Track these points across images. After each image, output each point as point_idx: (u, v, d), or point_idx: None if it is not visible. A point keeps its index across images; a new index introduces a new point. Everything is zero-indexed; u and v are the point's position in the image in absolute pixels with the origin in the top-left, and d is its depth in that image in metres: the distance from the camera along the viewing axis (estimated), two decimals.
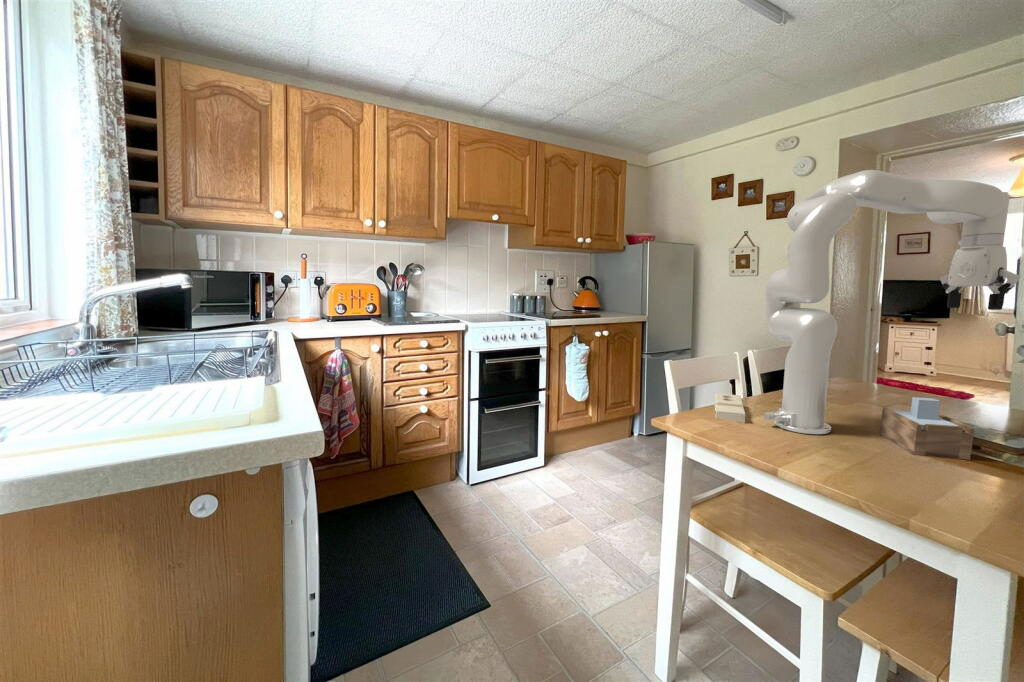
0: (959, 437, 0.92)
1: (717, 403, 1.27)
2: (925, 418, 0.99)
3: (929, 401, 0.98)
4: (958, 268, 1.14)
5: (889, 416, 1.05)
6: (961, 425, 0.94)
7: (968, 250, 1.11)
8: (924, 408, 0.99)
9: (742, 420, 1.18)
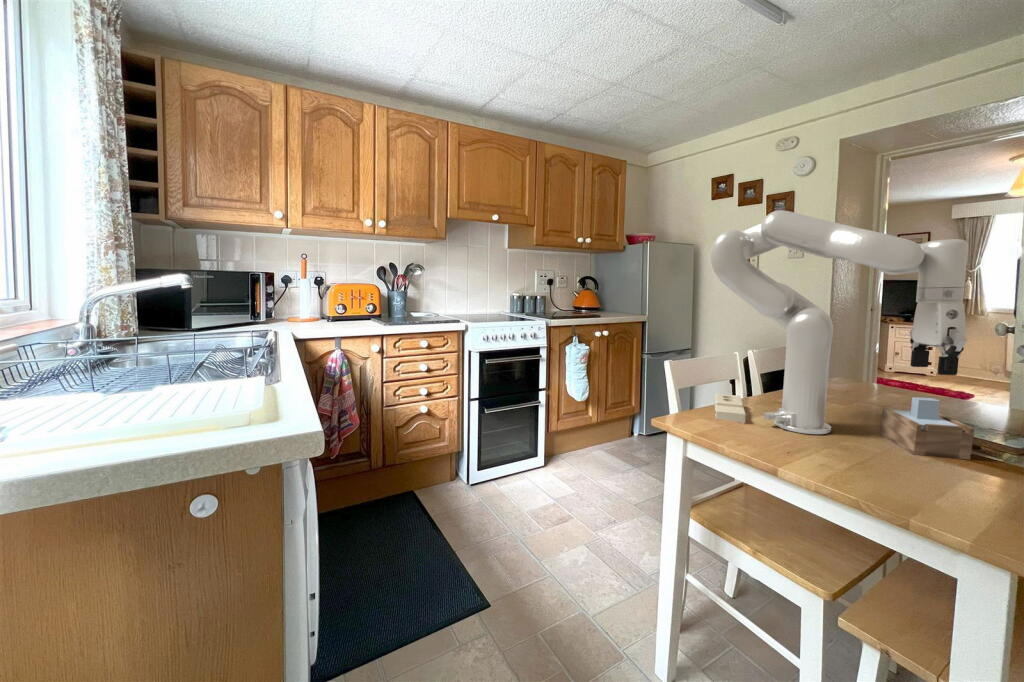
0: (959, 437, 0.92)
1: (717, 403, 1.26)
2: (925, 418, 0.99)
3: (929, 401, 0.98)
4: None
5: (889, 416, 1.05)
6: (961, 425, 0.94)
7: None
8: (924, 408, 0.99)
9: (742, 420, 1.17)
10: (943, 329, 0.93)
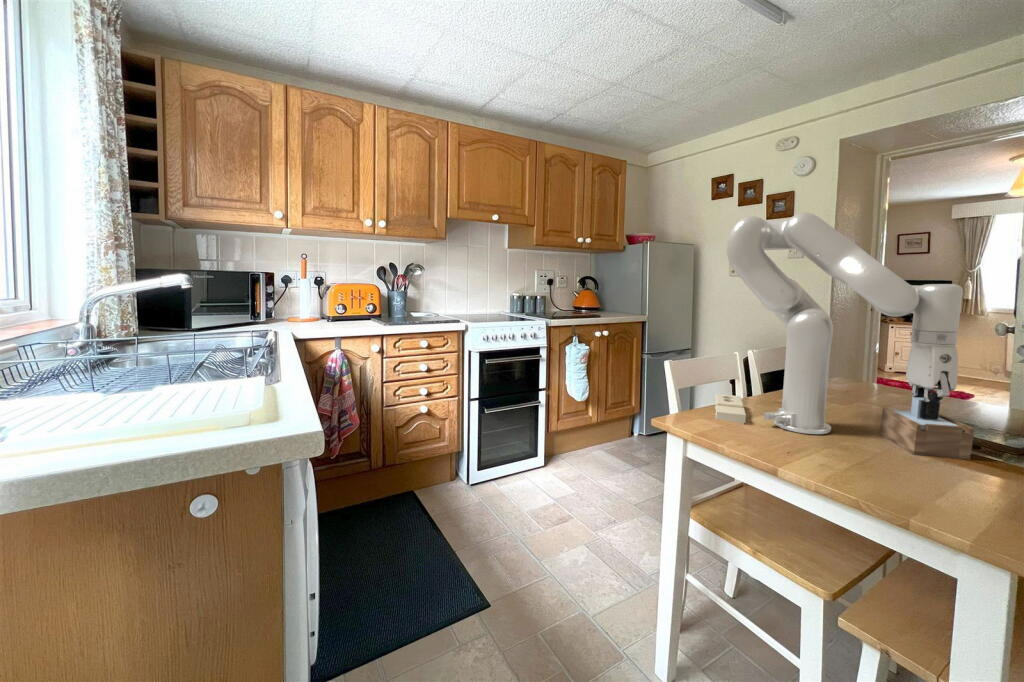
0: (959, 437, 0.92)
1: (717, 404, 1.26)
2: None
3: None
4: None
5: (889, 416, 1.05)
6: (961, 425, 0.94)
7: None
8: None
9: (742, 421, 1.17)
10: (936, 373, 0.94)
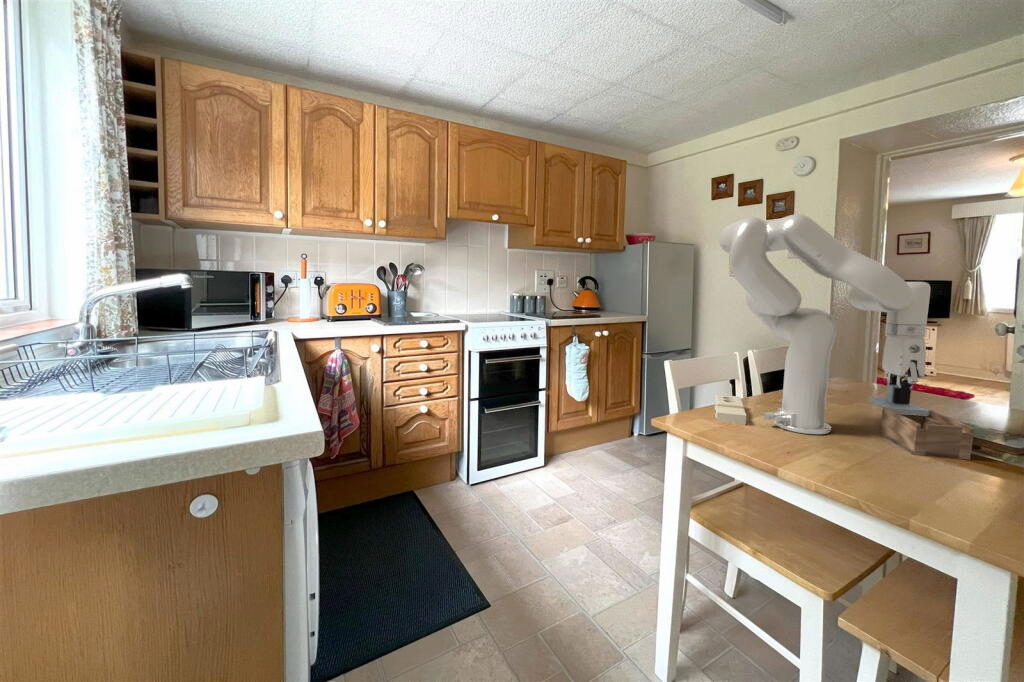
0: (959, 437, 0.92)
1: (717, 404, 1.25)
2: None
3: None
4: None
5: (889, 416, 1.05)
6: (961, 425, 0.94)
7: None
8: None
9: (743, 422, 1.16)
10: (906, 361, 1.04)
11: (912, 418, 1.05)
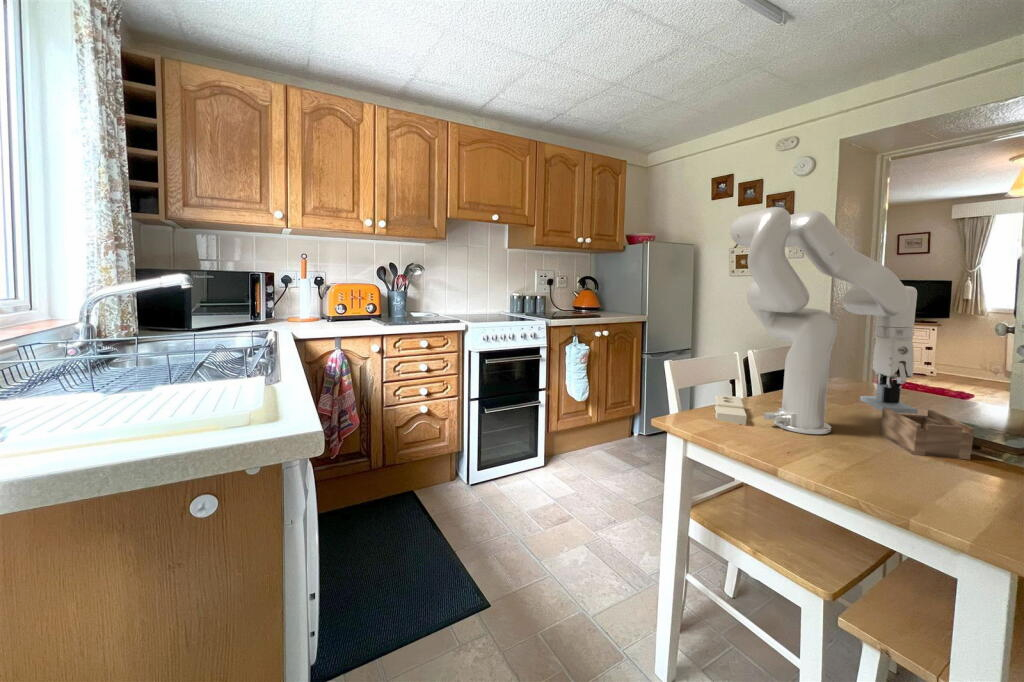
0: (959, 437, 0.92)
1: (717, 405, 1.25)
2: None
3: None
4: None
5: (889, 416, 1.05)
6: (961, 425, 0.94)
7: None
8: None
9: (743, 422, 1.16)
10: (895, 363, 1.09)
11: (912, 418, 1.05)
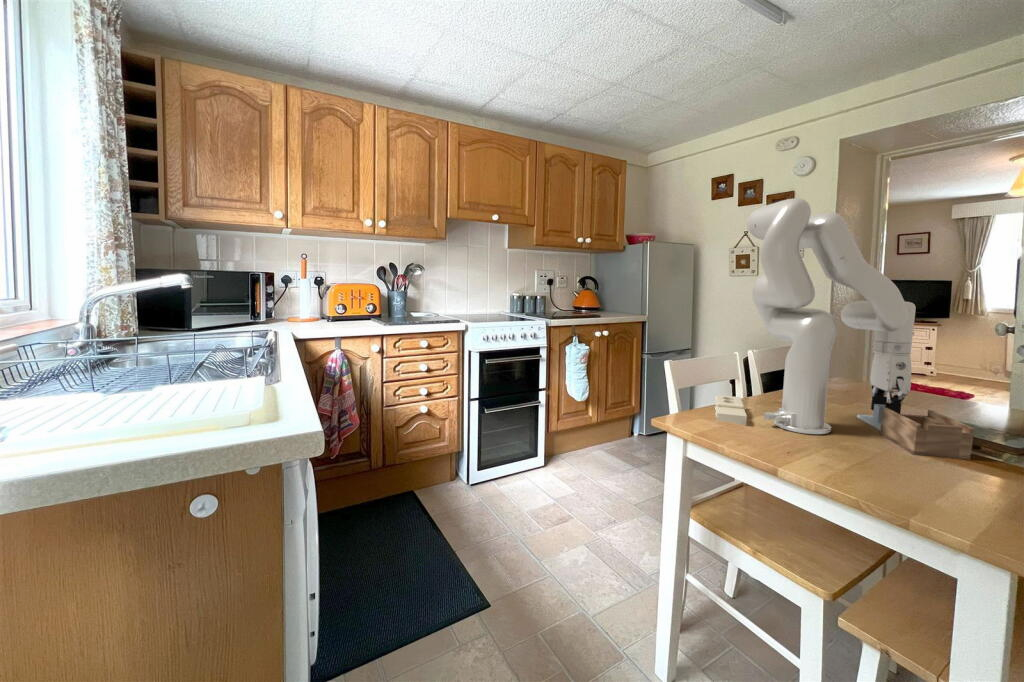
0: (959, 437, 0.92)
1: (718, 405, 1.24)
2: None
3: None
4: None
5: (889, 416, 1.05)
6: (961, 425, 0.94)
7: None
8: None
9: (743, 422, 1.16)
10: (893, 378, 1.10)
11: (912, 418, 1.05)
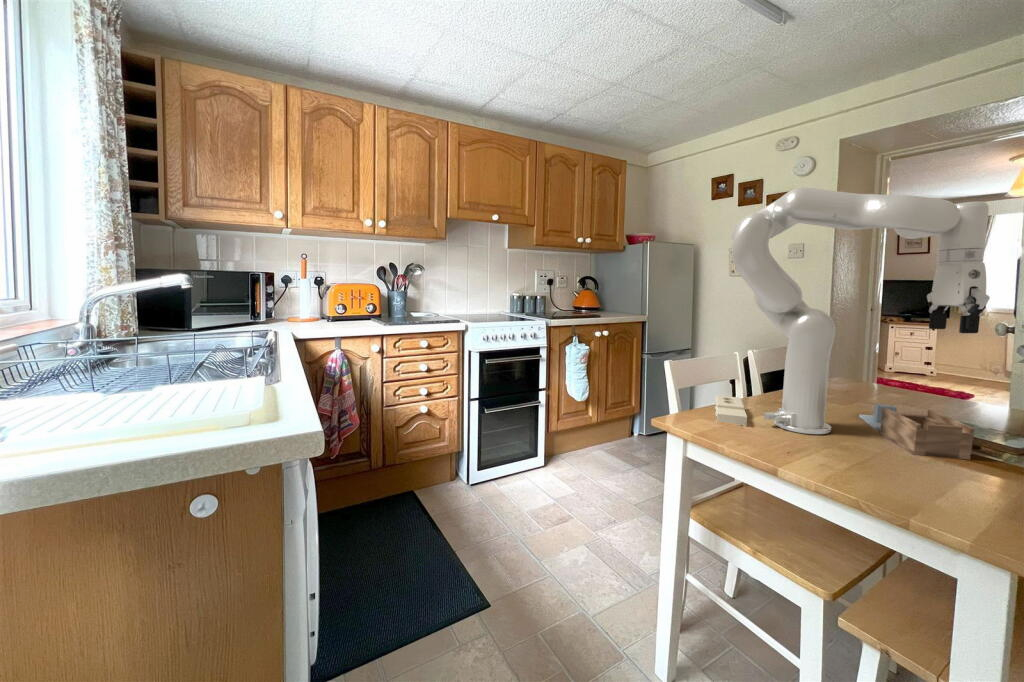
0: (959, 437, 0.92)
1: (718, 406, 1.24)
2: None
3: (887, 407, 1.14)
4: None
5: (889, 416, 1.05)
6: (961, 425, 0.94)
7: None
8: None
9: (744, 423, 1.15)
10: (965, 289, 0.96)
11: (912, 418, 1.05)
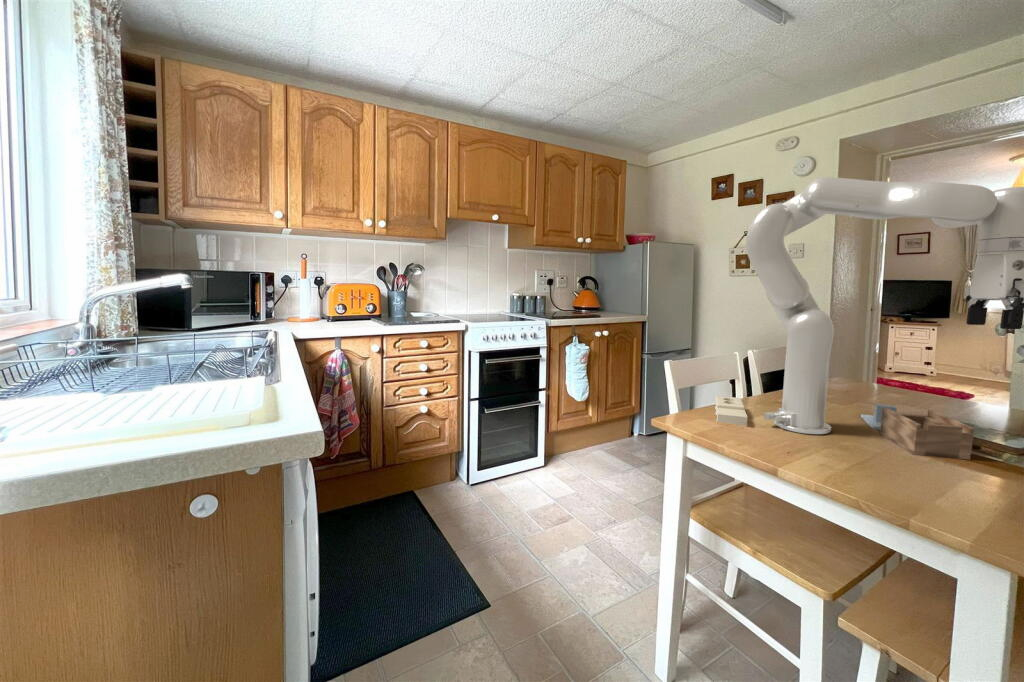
0: (959, 437, 0.92)
1: (718, 406, 1.23)
2: None
3: (886, 407, 1.14)
4: None
5: (889, 416, 1.05)
6: (961, 425, 0.94)
7: None
8: None
9: (744, 423, 1.15)
10: (1008, 281, 0.89)
11: (912, 418, 1.05)
